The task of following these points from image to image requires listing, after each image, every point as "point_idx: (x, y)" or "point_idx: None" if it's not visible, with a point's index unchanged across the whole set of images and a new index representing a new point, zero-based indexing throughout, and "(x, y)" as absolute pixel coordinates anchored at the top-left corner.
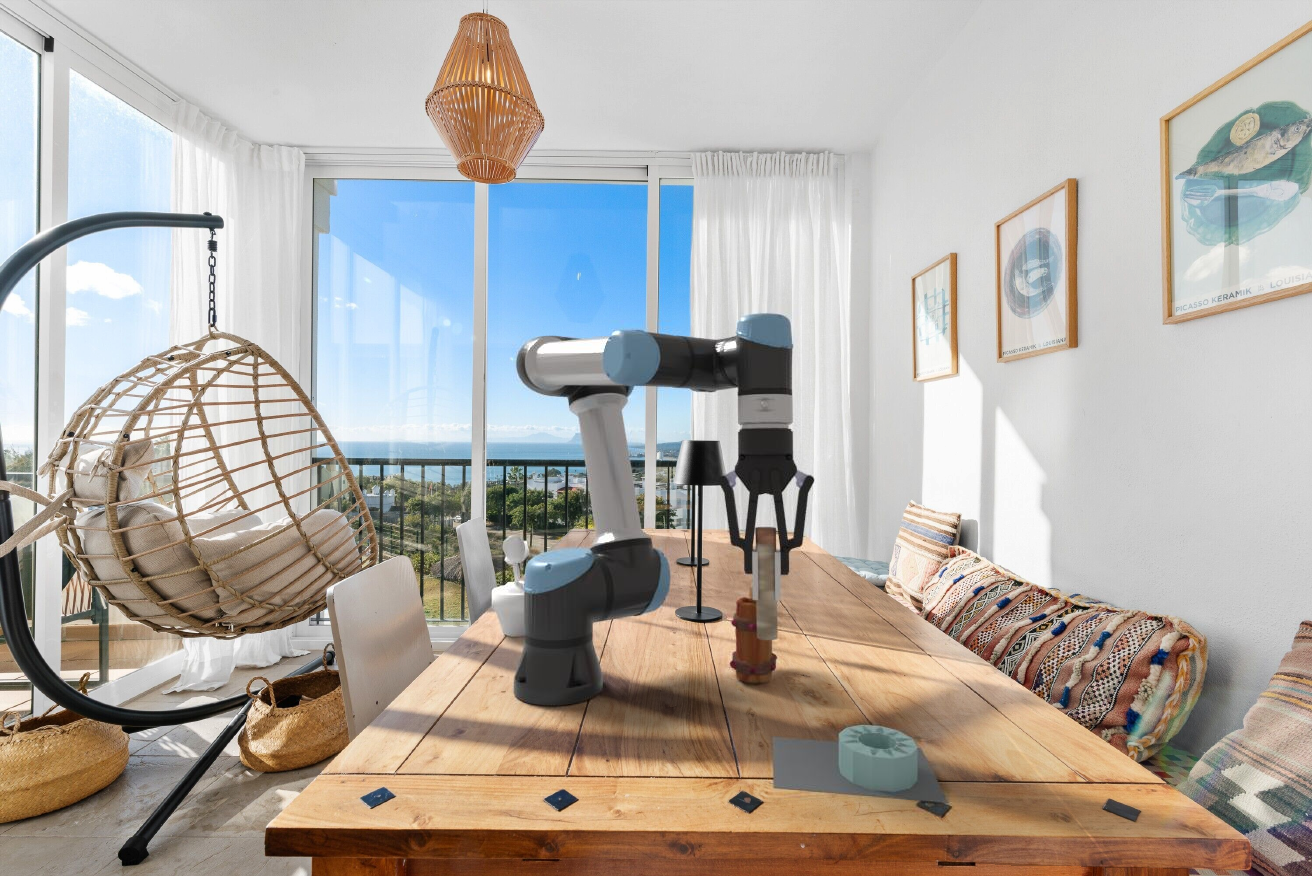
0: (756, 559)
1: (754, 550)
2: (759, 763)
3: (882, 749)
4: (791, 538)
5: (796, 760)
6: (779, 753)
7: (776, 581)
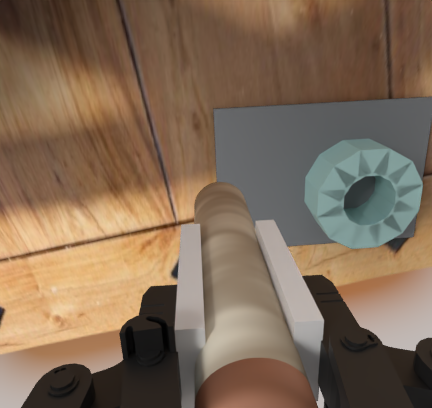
0: None
1: (187, 369)
2: (198, 182)
3: (369, 226)
4: (414, 394)
5: (249, 178)
6: (225, 163)
7: None
